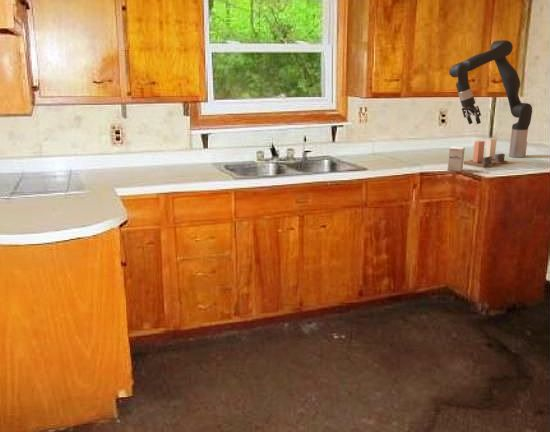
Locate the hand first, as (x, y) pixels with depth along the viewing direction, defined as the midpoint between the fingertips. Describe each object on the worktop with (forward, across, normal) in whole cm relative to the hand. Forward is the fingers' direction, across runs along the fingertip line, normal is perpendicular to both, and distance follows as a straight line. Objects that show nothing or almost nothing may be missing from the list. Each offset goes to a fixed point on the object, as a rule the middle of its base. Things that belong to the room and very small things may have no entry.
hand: (474, 123), depth 313 cm
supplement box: (+16, -15, +29) cm, 36 cm away
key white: (+24, +1, -3) cm, 24 cm away
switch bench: (+24, -4, +3) cm, 24 cm away
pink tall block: (+20, -6, +9) cm, 23 cm away
